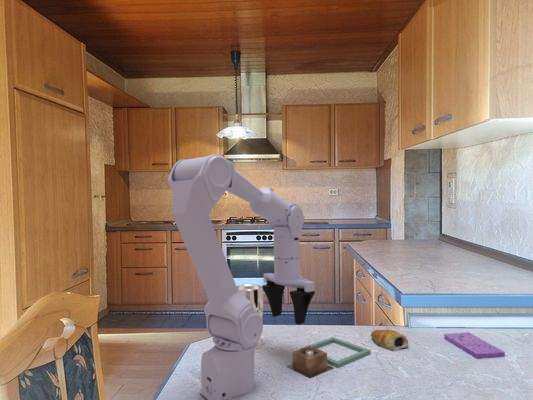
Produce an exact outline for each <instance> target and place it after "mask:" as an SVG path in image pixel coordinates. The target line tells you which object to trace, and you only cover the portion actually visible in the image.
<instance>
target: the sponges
mask: <svg viewBox="0 0 533 400" xmlns="http://www.w3.org/2000/svg"><path fill="white" fill-rule="evenodd" d="M443 336H444V337H443V339H444V340H445V341H447V342H448V343H450V344H452V345H453V346H455V347H457V348H458V349H460V350H461V349H462V351H463V352H464V353H466V354H468V355H469V356H471V357H473V358H475V359H477V360H478V359H479V360H480V359H481V360H482V359H493V358H505V357H506V353H505V351H504V350H502V349H500V348H498V347H496V346H495V345H492V344H491V343H489V342H487V341H485V340H484V339H482V338H480V337H478V336H476V335H475V334H473V333H471V332H469V331H466V332H459V333H458V332H454V333H443Z"/></svg>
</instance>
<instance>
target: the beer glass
mask: <svg viewBox="0 0 533 400" xmlns="http://www.w3.org/2000/svg"><path fill="white" fill-rule="evenodd" d="M236 286H237V289H238V291H239V292H240V293H241V294H242V295H243V296H244V297H246V298H247V299H248V300H249V301H250V302H251V303H252V305H253V307H254V309H255V310H256V311H257V312H258V313H259V314H260V315H261V317H262V318H263V315H264V294H263V293H264V292H263V289H262V286H263V285H260V284H251V283H249V284H240V285H236ZM261 338H262V336H261V337H260V339H259V340H258V342H257V344H256V345H254V350H256V349H257V348H260V347H261V346H262V345H263V344H262V343H263V342H262V339H261Z"/></svg>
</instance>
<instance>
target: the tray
mask: <svg viewBox="0 0 533 400" xmlns="http://www.w3.org/2000/svg"><path fill="white" fill-rule="evenodd" d="M331 344H336V345H339V346H340V347H341V346H342V347H344V348H347V349H350V350H352V351H355V352H356V353H354V354H351V355H349V356H346V357H344V358H342V359H340V360H335V359H333V358H331V357H328V356H327V365H329V366H331V367H333V368H336V369H340V368H342V367H344V366H347V365H349V364H351V363H354V362H355V361H359V360H360V359H362V358H365V357H366V356H369V355H371V354H372V353H371V352H372V351H371V350H372V349H367V348H365V347H363V346H359V345H356V344H354V343H351V342H348V341H344V340H343V339H339V338H337V337H333V336H332V337H329V338H327V339H324V340H320V341H318V342H315V343H312V344H309V345H307V346H304V347H300V348H299V350H300V349H302V348H305V347H308V346H311V347H314V348H316V349H320V348H322V347H326V346H328V345H331Z"/></svg>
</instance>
